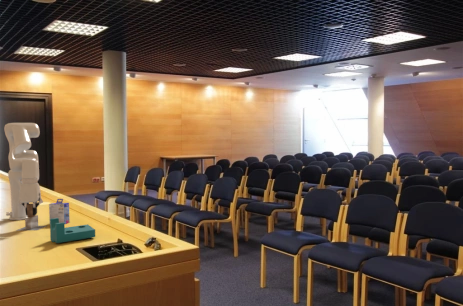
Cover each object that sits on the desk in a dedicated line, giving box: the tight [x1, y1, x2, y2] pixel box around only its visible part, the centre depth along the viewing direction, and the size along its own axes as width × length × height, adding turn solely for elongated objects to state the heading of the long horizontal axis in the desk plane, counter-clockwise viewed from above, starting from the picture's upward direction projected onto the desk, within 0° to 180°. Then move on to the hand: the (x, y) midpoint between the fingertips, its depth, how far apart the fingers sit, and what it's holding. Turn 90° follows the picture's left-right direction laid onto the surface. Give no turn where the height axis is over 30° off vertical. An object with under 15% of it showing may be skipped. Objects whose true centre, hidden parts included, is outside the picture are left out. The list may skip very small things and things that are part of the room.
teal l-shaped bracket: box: [49, 218, 96, 244], centre depth 209 cm, size 18×11×10 cm, turn 127°
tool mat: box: [15, 225, 47, 232], centre depth 237 cm, size 12×12×1 cm
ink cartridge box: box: [48, 198, 71, 225], centre depth 248 cm, size 10×6×14 cm, turn 78°
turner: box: [24, 203, 39, 229], centre depth 237 cm, size 3×8×13 cm, turn 177°
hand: (31, 214), depth 237 cm, fingers closed on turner, 3 cm apart
